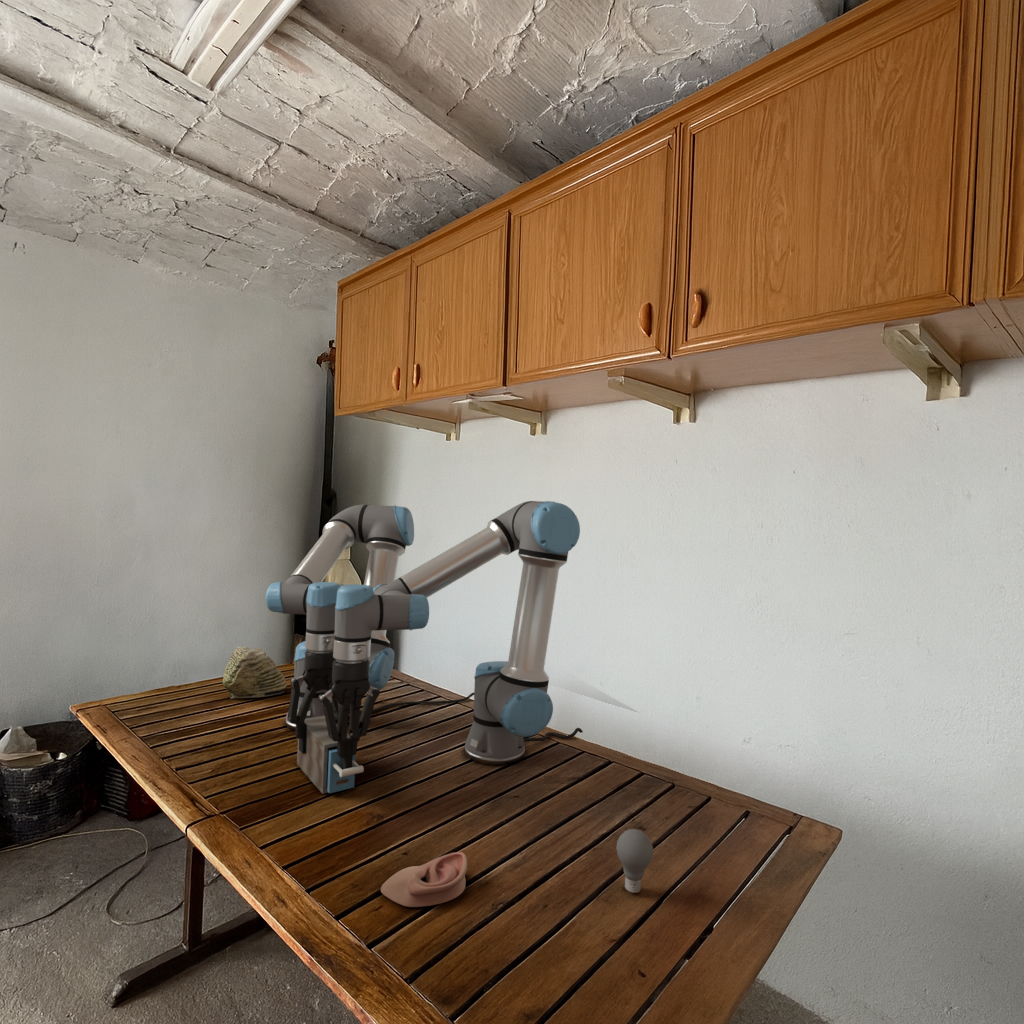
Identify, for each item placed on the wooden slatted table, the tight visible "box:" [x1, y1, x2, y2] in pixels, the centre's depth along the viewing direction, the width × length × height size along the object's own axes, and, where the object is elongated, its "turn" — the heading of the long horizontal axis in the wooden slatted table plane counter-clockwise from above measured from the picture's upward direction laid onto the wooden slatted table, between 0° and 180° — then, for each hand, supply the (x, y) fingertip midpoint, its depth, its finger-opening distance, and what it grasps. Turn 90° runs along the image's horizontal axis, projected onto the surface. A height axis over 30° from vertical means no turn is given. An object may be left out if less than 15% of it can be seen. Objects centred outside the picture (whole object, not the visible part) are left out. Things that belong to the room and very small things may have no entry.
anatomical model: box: [380, 851, 468, 908], centre depth 104 cm, size 13×4×12 cm
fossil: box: [222, 646, 288, 699], centre depth 198 cm, size 9×18×15 cm, turn 132°
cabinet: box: [296, 716, 350, 795], centre depth 144 cm, size 17×7×10 cm, turn 36°
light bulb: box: [615, 828, 654, 894], centre depth 106 cm, size 6×6×10 cm
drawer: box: [327, 746, 365, 794], centre depth 139 cm, size 22×6×9 cm, turn 36°
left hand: (318, 747), depth 147 cm, fingers closed on cabinet, 7 cm apart
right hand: (346, 770), depth 133 cm, fingers closed
